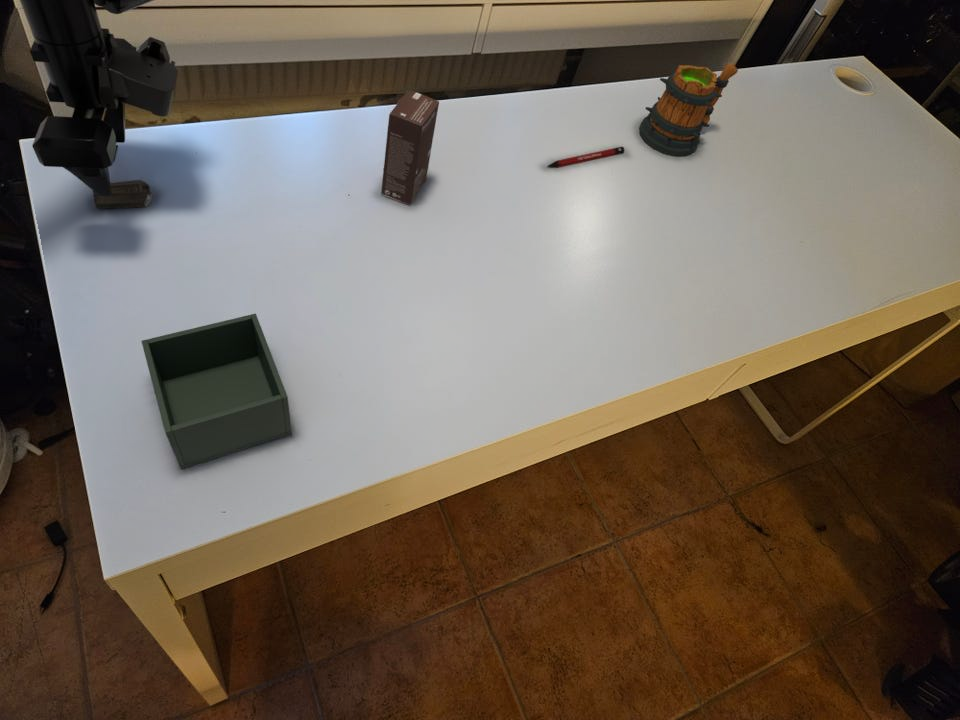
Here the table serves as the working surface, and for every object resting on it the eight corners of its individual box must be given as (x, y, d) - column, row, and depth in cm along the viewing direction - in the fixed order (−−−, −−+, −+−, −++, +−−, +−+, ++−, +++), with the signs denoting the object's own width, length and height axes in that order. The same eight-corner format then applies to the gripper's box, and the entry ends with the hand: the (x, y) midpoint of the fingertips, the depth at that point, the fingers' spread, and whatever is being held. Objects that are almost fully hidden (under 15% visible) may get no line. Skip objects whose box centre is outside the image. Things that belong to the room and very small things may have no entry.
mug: (662, 162, 99) (695, 93, 90) (624, 122, 104) (652, 53, 95) (724, 148, 105) (761, 82, 96) (685, 111, 109) (717, 44, 100)
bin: (180, 469, 59) (165, 432, 54) (157, 382, 63) (141, 340, 58) (292, 434, 63) (287, 396, 57) (262, 354, 67) (255, 313, 62)
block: (93, 193, 76) (89, 181, 75) (149, 186, 79) (146, 173, 77) (98, 214, 75) (93, 202, 73) (155, 205, 77) (151, 193, 75)
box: (412, 207, 84) (422, 125, 75) (380, 195, 85) (385, 112, 75) (429, 180, 88) (440, 99, 78) (398, 169, 88) (405, 87, 79)
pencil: (543, 167, 94) (545, 161, 93) (619, 150, 100) (621, 145, 99) (547, 171, 94) (548, 165, 93) (622, 154, 99) (625, 149, 99)
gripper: (147, 93, 57) (182, 228, 69) (173, -12, 68) (199, 121, 80) (1, 84, 55) (64, 225, 67) (52, -24, 65) (97, 115, 77)
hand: (113, 167), depth 73 cm, fingers open, 9 cm apart
